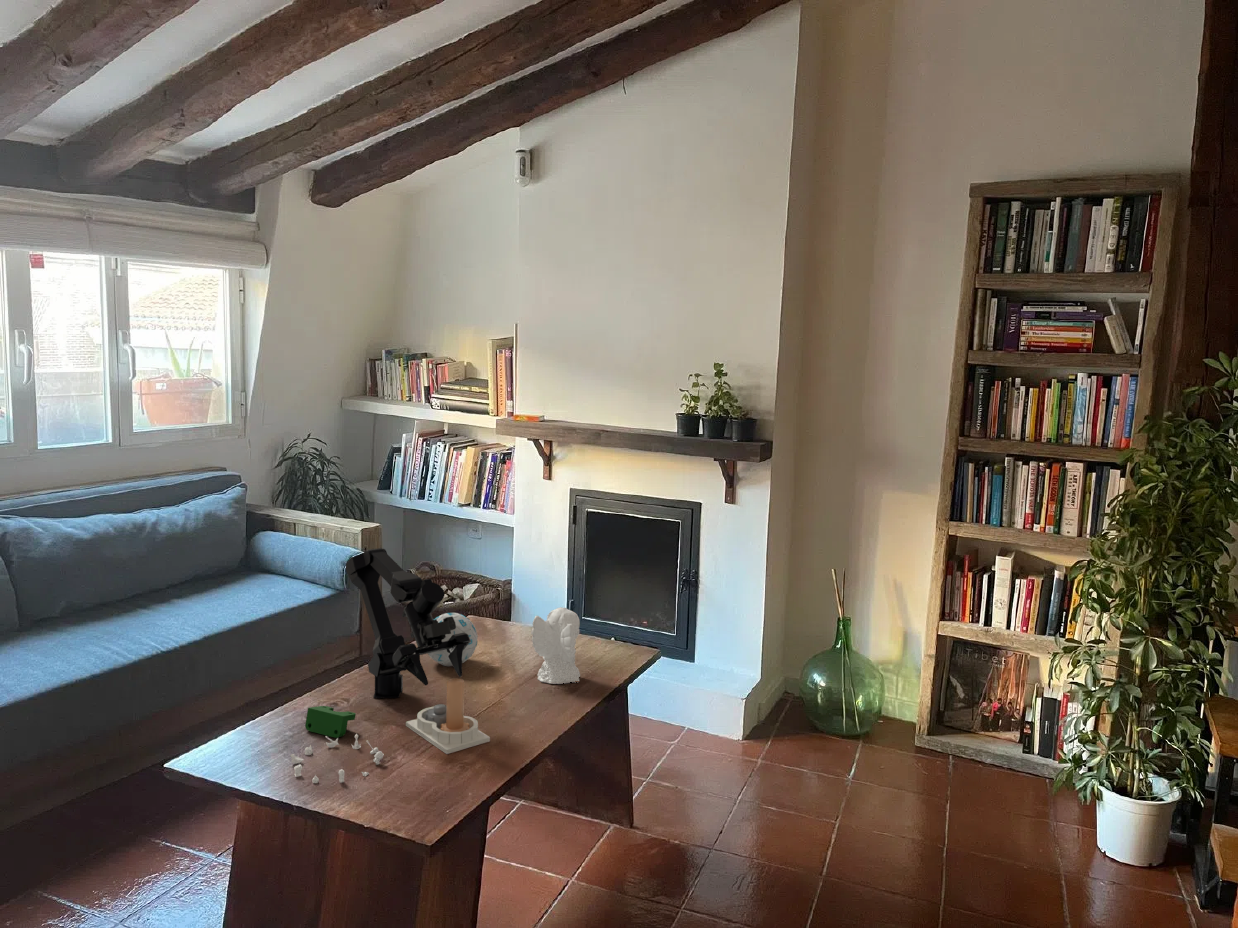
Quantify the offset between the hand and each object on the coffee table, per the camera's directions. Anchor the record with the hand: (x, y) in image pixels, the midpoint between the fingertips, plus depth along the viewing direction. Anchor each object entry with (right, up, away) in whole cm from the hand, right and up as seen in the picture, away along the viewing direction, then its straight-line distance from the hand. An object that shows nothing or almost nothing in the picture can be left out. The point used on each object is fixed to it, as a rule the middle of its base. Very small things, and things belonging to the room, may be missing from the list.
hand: (444, 680), depth 224 cm
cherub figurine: (+25, -9, +37) cm, 46 cm away
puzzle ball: (-7, -6, +47) cm, 47 cm away
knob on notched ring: (+3, -12, -2) cm, 13 cm away
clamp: (-27, -12, 0) cm, 29 cm away
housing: (+1, -13, 0) cm, 13 cm away
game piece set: (-21, -15, -17) cm, 31 cm away
